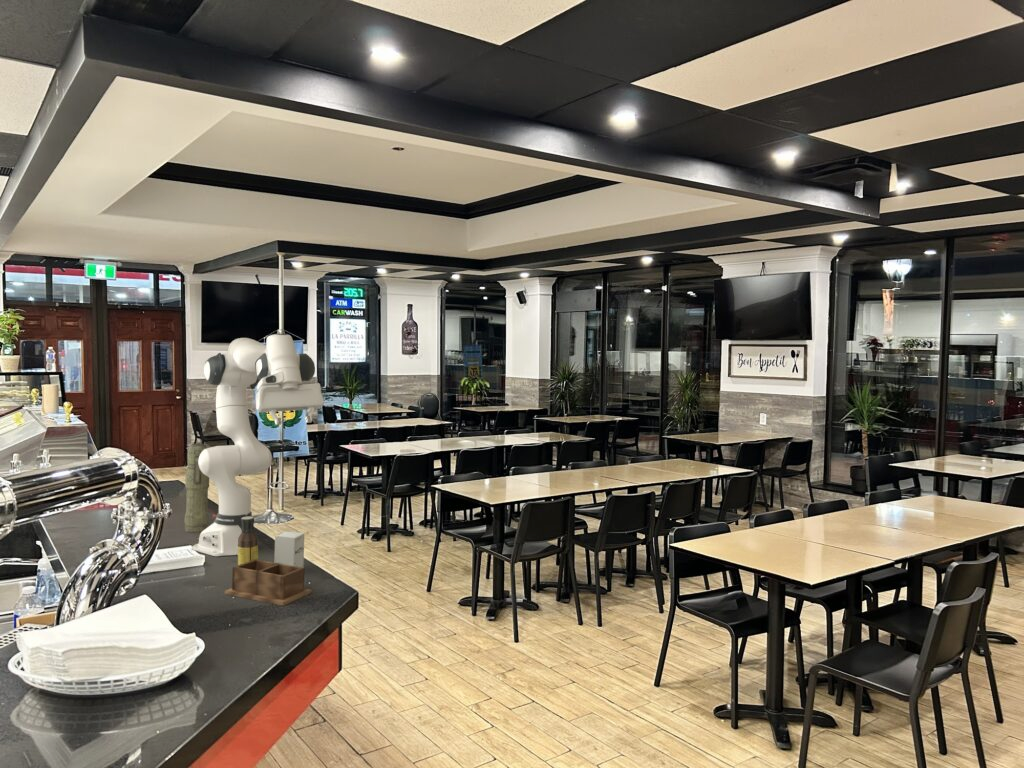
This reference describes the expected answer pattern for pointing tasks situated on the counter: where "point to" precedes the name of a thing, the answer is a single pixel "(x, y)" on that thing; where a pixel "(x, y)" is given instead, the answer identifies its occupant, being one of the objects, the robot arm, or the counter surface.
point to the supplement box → (289, 549)
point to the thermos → (196, 492)
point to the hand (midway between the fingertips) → (294, 423)
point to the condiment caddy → (268, 582)
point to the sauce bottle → (247, 541)
